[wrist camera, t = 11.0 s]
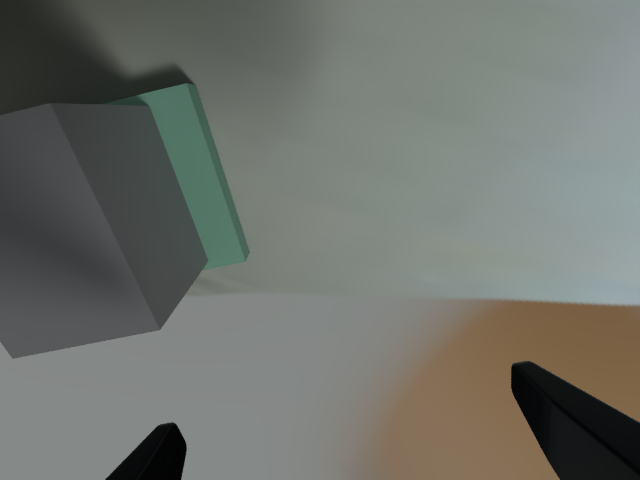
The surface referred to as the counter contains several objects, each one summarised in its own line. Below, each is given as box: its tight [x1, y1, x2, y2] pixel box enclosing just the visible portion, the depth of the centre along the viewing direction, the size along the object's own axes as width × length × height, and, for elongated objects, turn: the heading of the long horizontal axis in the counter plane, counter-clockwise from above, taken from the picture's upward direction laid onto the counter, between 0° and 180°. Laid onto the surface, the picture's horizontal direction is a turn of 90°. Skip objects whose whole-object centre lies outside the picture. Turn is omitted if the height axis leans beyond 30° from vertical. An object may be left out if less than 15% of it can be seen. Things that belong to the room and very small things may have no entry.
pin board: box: [102, 83, 250, 270], centre depth 16 cm, size 10×9×3 cm
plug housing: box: [0, 103, 208, 358], centre depth 14 cm, size 6×8×6 cm
